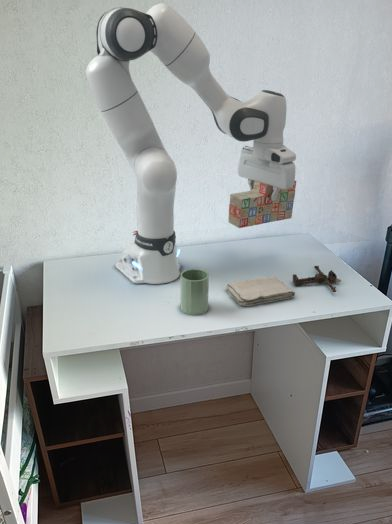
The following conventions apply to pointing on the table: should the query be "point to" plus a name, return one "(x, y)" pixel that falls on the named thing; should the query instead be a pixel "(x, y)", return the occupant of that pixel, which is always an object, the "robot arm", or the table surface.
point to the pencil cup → (194, 291)
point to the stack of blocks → (260, 206)
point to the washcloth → (259, 291)
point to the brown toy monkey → (318, 279)
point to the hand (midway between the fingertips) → (262, 196)
